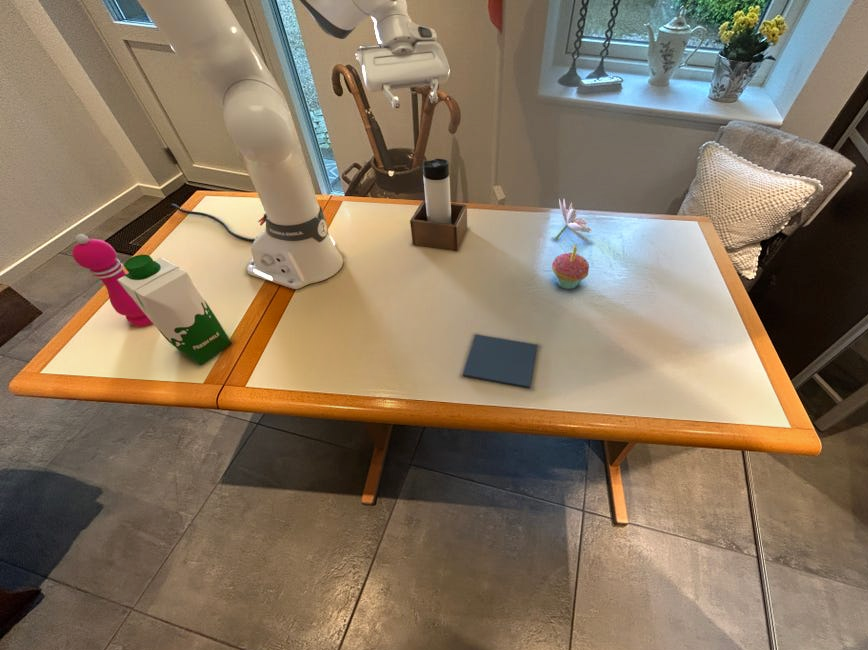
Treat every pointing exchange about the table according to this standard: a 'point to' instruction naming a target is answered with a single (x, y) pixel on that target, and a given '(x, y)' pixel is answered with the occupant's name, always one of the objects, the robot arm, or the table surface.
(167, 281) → the milk carton
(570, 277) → the cupcake
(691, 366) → the table surface
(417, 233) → the cubby
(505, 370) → the mat
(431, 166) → the travel mug
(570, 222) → the water lily
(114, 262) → the pepper mill
